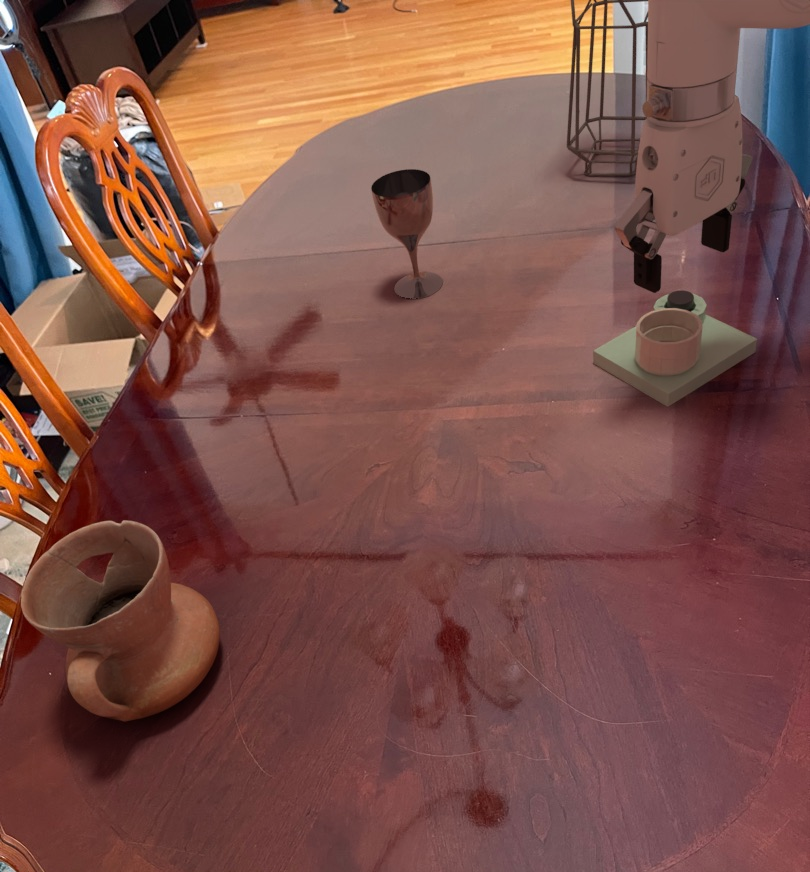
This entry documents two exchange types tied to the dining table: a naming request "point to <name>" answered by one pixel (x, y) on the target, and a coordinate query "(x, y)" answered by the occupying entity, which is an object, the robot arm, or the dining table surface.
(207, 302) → the dining table surface
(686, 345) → the bowl
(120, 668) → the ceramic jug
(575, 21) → the geometric lantern
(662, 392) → the scale
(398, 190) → the wine glass
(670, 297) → the button
